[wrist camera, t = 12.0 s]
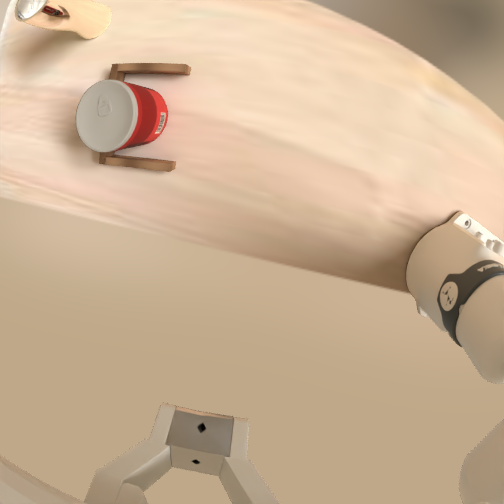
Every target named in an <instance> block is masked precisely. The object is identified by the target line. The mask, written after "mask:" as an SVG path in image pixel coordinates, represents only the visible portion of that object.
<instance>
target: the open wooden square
mask: <svg viewBox="0 0 504 504" xmlns="http://www.w3.org/2000/svg"><path fill="white" fill-rule="evenodd" d="M190 71H191V67H189V66H188V65H186V64H167V63H127V64H112V68H111V73H110V79H109V80H118V81H123V82H124V78H125V73H165V74H185V75H190ZM114 152H115V151H111V152H100V162H99V164H108V165H117V166H126V167H135V168H144V169H152V170H159V171H167V172H170V171H172V170H174V169H175V164H176V162H174V161H166V160H158V159H149V158H140V157H131V156H120V155H114Z"/></svg>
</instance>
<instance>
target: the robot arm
mask: <svg viewBox="0 0 504 504" xmlns="http://www.w3.org/2000/svg"><path fill="white" fill-rule="evenodd" d="M465 222H466V224H465ZM406 281H407V286H408V289H409V291H410V293H411V294H412V296H413V297H414V298H415V300H416V302H417V310H418V313H419V314H420V315H421V316H423V317H426V316H428V317H429V318H430V319H431V320H432V321H433V322H434V323H435V324H436V326H437V327H438V328H439V329H440V330H441V331H442V332H448V334H449V336H450V337H451V338H452V339H453V340H454V341H455V342H456V344H458V345H459V346H460V347H463V349H464V350H465V352H466V353H467V355H468V356H469V358H470V359H471V361H472V363H473V364H474V366H475V367H476V369H477V370H478V372H479V374H480V375H481V376H482V377H483V378H484V379H485V380H487V381H489V382H491V383H495V384H504V242H502V241H501V240H500V239H499V238H498V237H496V236H495V235H494V234H493V233H491V232H490V231H489V230H487V229H486V228H485V227H483V226H482V225H481V224H479V223H478V222H477V221H475V220H474V219H473V218H471V217H470V216H469V215H467V214H466V213H464V212H463V211H459V212H457V213H456V214H455V215H454V216H453V217H452V218H451V219H450V220H449V221H448V222H447V223H445V224H443V225H440V226H438V227H436V228H434V229H432V230H431V231H430V232H428V233H427V234H426V235H425V236H424V237H423V238H422V239H421V240H420V241H419V242H418V244H417V245H416V247H415V248H414V250H413V252H412V254H411V256H410V259H409V261H408V265H407V271H406ZM248 430H249V420H248V419H244V418H237V417H233V416H226V415H220V414H213V413H207V412H201V411H196V410H192V409H187V408H183V407H179V406H176V405H171V404H167V403H162V405H161V406H160V409H159V412H158V414H157V417H156V420H155V423H154V426H153V429H152V432H151V435H150V438H149V440H148V439H144V440H142V441H141V442H139V443H138V444H137V445H135V446H134V447H132V448H131V449H129V450H128V451H126V452H125V453H123V454H122V455H120V456H118V457H117V458H115V459H114V460H112V461H111V462H109V463H108V464H106V465H104V466H103V467H101V468H100V469H98V470H97V471H96V473H95V475H94V478H93V480H92V483H91V485H90V488H89V490H88V493H87V496H86V498H85V501H84V502H83V501H81V500H79V499H76V498H74V497H72V496H70V495H68V494H66V493H64V492H62V491H60V490H58V489H56V488H54V487H52V486H50V485H48V484H47V483H45V482H43V481H41V480H39V479H37V478H36V477H34V476H32V475H31V474H29V473H27V472H26V471H24V470H22V469H21V468H19V467H18V466H16V465H15V464H13V463H12V462H10V461H9V460H7V459H5V458H4V457H3V456H1V455H0V504H148V503H147V501H146V498H145V496H144V493H143V492H144V491H145V490H146V489H148V488H149V487H150V486H151V485H153V484H154V483H155V482H156V481H157V480H158V479H160V478H161V477H162V476H163V475H164V474H165V473H166V472H168V471H169V470H170V469H171V467H176V468H180V469H185V470H191V471H196V472H200V473H205V474H210V475H216V476H219V478H220V480H221V482H222V484H223V486H224V488H225V490H226V492H227V494H228V496H229V498H230V500H231V502H232V504H280V503H279V501H278V500H277V499H276V497H275V496H274V494H273V493H272V491H271V490H270V489H269V487H268V486H267V484H266V483H265V481H264V480H263V478H262V477H261V475H260V474H259V472H258V471H257V469H256V468H255V466H254V464H253V463H252V461H251V460H247V459H246V456H247V444H248ZM459 491H460V496H461V500H462V502H463V504H504V419H503V420H502V421H501V422H500V423H499V424H497V425H496V426H495V428H494V429H493V430H492V431H491V432H490V433H489V434H488V435H487V436H486V437H485V438H484V439H483V440H482V441H481V442H480V443H479V444H478V445H477V446H476V447H475V448H474V449H473V450H472V451H471V452H470V453H469V454H468V455H467V456H466V458H465V460H464V463H463V465H462V469H461V473H460V479H459Z"/></svg>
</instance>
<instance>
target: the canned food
mask: <svg viewBox="0 0 504 504" xmlns="http://www.w3.org/2000/svg"><path fill="white" fill-rule="evenodd" d="M167 118H168V110H167V106H166V103H165V101H164V99H163V98H162V96H161V95H160V94H159V93H158V92H156V91H155V90H153V89H149V88H146V87H142V86H138V85H135V84H131V83H127V82H123V81H118V80H103V81H100V82H97V83H95V84H94V85H92V86H91V87H90V88H89V89H88V90H87V91H86V92H85V93H84V95H83V96H82V98H81V100H80V102H79V104H78V108H77V111H76V127H77V132H78V134H79V137H80V139H81V140H82V142H83V143H84V144H85V145H86V146H87V147H88V148H90V149H91V150H94V151H96V152H111V151H117V150H121V149H126V148H130V147H135V146H140V145H145V144H148V143H150V142H152V141H154V140H155V139H156V138H157V137H159V135H160V134H161V133H162V131H163V130H164V128H165V126H166V123H167Z"/></svg>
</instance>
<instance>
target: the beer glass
mask: <svg viewBox="0 0 504 504" xmlns="http://www.w3.org/2000/svg"><path fill="white" fill-rule="evenodd" d="M15 17H16V19H17V20H18V21H21V22H24V23H27V24H29V25H32V26H35V27H38V28H42V29H47V30H58V31H72V32H75V33H77V34H78V35H79V36H81V37H82V38H85V39H93V38H95V37H97V36H99V35H101V34H102V33H103V32H104V31H105V30H106V29H107V27H108V26H109V24H110V22H111V19H112V11H111V9H110V8H109V7H108V6H106V5H104V4H99V3H96V2H94V1H93V0H18V1H17V4H16V7H15Z"/></svg>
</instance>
